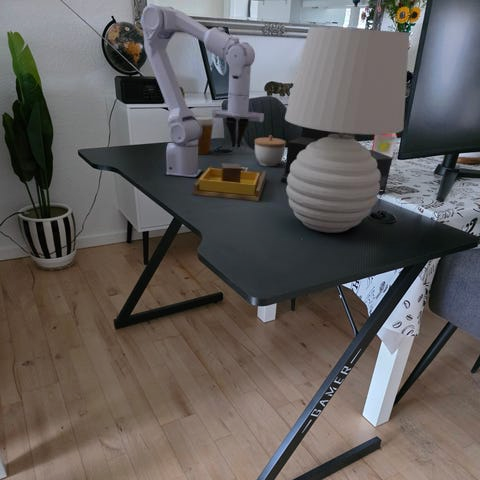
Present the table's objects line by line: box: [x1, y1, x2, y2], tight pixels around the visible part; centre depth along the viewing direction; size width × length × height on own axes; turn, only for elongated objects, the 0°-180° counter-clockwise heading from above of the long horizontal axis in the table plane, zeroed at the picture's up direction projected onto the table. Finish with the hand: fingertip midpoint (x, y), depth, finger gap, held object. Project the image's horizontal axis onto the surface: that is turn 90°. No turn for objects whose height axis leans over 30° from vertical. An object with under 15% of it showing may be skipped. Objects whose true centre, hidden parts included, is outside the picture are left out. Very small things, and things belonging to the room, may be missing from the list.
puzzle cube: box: [371, 133, 398, 158], centre depth 178 cm, size 8×8×8 cm
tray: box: [198, 166, 261, 195], centre depth 129 cm, size 15×18×3 cm
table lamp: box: [284, 26, 410, 234], centre depth 99 cm, size 25×25×40 cm
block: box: [220, 162, 242, 183], centre depth 126 cm, size 5×5×5 cm
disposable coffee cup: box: [194, 114, 215, 155], centre depth 163 cm, size 10×10×12 cm
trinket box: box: [254, 134, 287, 167], centre depth 155 cm, size 11×11×9 cm
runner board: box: [193, 165, 267, 202], centre depth 131 cm, size 18×22×3 cm
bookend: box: [280, 126, 346, 183], centre depth 139 cm, size 23×11×24 cm, turn 149°
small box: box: [368, 149, 394, 195], centre depth 135 cm, size 11×6×10 cm, turn 23°
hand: (236, 146), depth 130 cm, fingers closed
